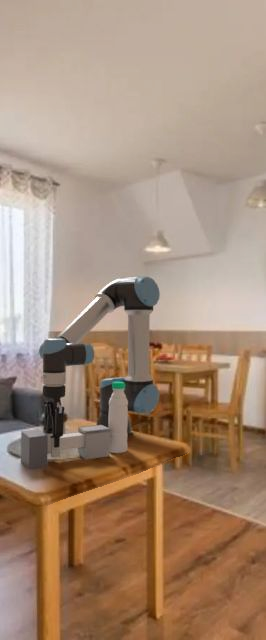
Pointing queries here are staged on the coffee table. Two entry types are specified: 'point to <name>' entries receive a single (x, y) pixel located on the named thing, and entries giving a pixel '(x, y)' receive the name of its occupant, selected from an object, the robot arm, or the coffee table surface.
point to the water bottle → (118, 418)
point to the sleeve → (95, 442)
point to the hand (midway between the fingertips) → (53, 454)
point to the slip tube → (69, 441)
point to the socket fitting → (34, 448)
